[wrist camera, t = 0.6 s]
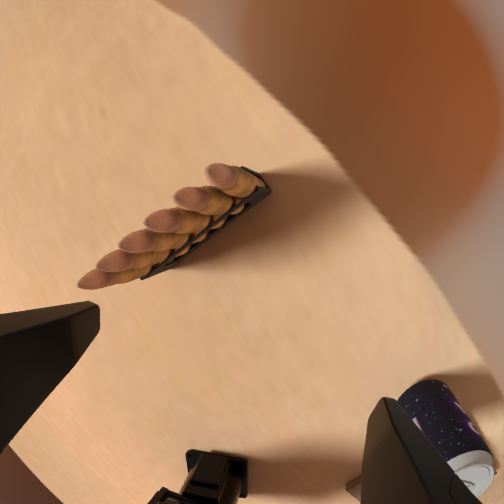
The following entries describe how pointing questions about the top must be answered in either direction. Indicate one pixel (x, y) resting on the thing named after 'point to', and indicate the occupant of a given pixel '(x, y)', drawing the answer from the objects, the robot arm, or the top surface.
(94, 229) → the top surface
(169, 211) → the ammunition clip
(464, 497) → the robot arm
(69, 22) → the top surface
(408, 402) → the beverage can
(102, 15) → the top surface
